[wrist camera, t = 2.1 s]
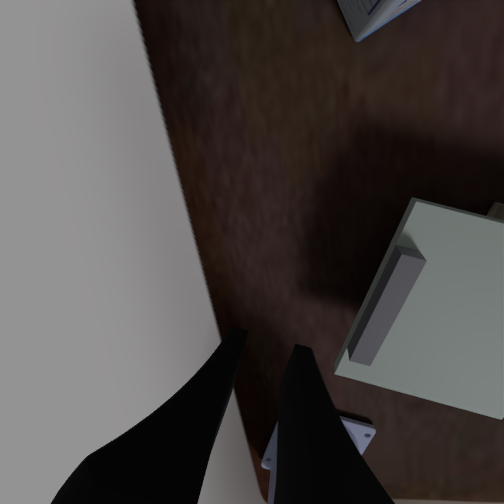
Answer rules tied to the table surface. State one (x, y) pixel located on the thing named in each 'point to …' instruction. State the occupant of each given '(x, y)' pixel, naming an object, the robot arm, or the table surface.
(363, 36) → the medicine box
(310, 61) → the table surface
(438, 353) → the lid
